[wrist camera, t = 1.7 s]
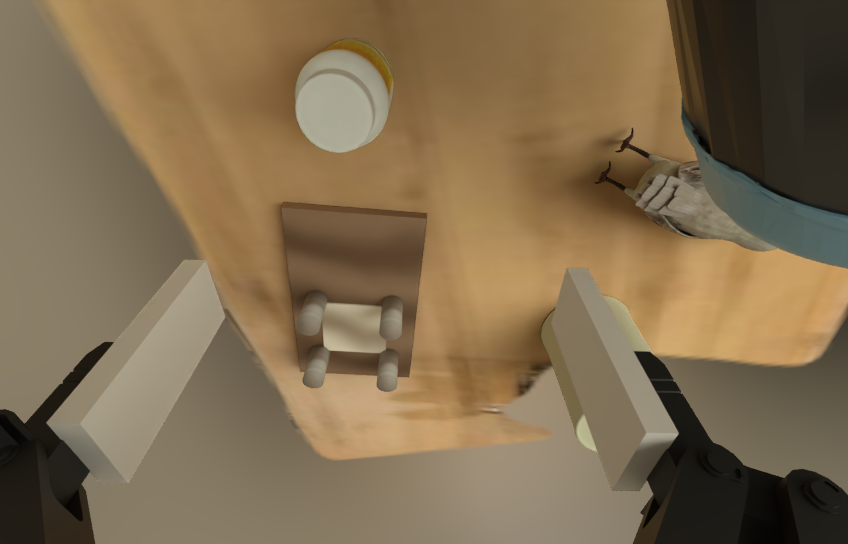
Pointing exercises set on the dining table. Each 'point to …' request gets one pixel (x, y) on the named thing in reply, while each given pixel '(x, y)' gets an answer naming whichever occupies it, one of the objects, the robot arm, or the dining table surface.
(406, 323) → the pin nest
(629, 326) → the can
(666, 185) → the decorative bird
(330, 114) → the supplement bottle
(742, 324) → the dining table surface
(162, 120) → the dining table surface
